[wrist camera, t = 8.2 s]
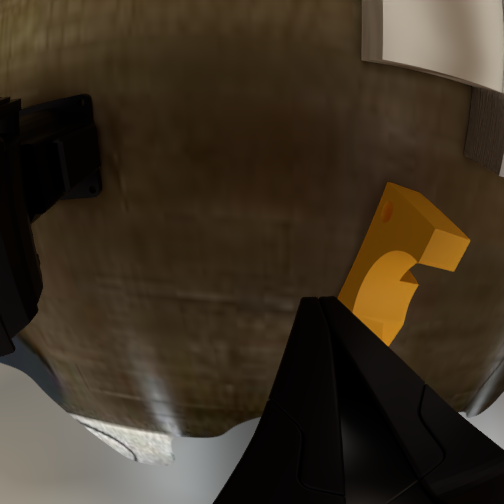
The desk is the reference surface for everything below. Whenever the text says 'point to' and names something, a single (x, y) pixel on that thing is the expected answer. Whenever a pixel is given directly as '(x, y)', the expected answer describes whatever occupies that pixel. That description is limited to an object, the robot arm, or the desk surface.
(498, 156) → the bar
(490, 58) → the beige rectangular block
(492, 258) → the desk surface
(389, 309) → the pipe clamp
